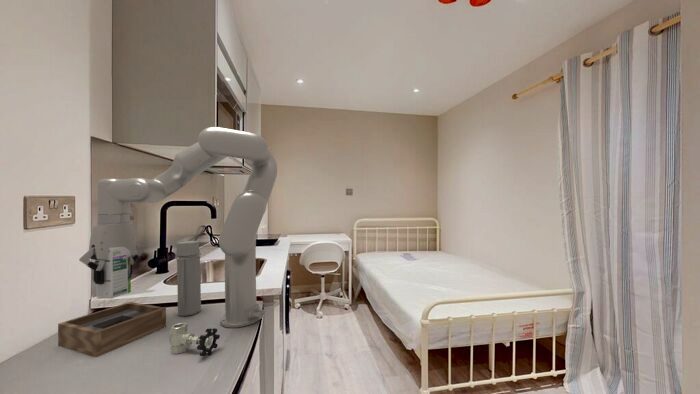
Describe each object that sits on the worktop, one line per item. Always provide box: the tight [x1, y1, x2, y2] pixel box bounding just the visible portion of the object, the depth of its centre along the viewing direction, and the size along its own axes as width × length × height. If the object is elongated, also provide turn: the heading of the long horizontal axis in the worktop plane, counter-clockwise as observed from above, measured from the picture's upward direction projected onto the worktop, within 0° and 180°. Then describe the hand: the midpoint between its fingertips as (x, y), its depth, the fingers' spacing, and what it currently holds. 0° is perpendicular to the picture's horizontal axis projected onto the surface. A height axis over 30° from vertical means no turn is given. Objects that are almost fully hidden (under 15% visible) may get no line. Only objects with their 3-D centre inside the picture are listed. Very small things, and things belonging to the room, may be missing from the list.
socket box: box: [57, 301, 167, 358], centre depth 82 cm, size 18×18×6 cm
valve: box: [169, 322, 221, 357], centre depth 72 cm, size 7×7×12 cm
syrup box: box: [95, 247, 132, 300], centre depth 83 cm, size 6×6×14 cm
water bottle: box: [175, 240, 202, 317], centre depth 98 cm, size 9×8×25 cm
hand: (113, 280), depth 83 cm, fingers closed on syrup box, 6 cm apart
